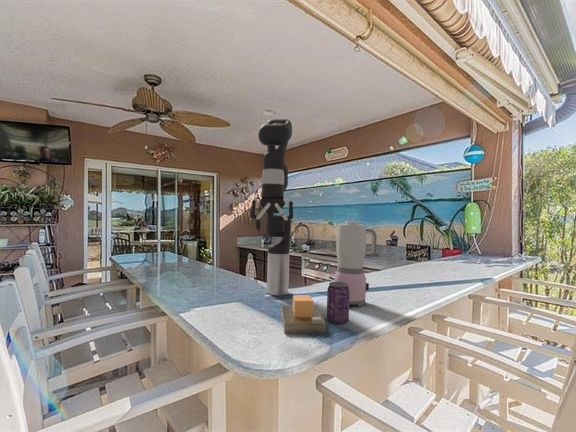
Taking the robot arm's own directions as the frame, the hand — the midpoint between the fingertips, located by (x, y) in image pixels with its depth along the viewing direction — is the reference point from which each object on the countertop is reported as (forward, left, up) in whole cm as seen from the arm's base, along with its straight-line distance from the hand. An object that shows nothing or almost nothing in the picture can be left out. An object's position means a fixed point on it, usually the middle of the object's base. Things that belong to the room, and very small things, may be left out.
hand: (271, 231), depth 102 cm
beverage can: (+7, +22, -28) cm, 36 cm away
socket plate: (+9, +10, -28) cm, 31 cm away
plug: (+9, +10, -28) cm, 31 cm away
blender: (-12, +33, -28) cm, 45 cm away
